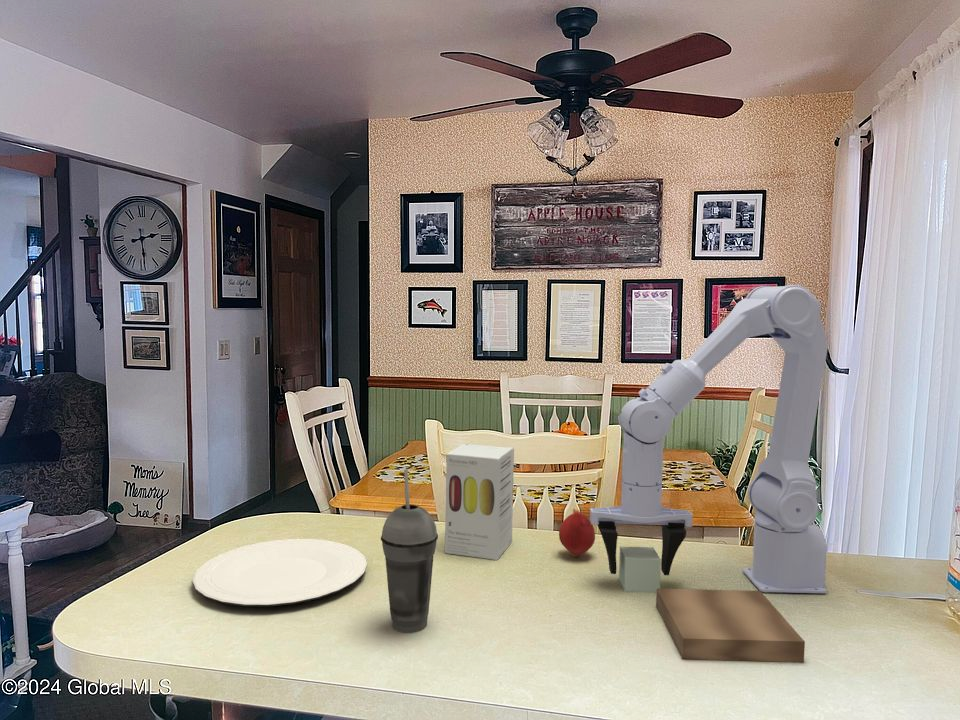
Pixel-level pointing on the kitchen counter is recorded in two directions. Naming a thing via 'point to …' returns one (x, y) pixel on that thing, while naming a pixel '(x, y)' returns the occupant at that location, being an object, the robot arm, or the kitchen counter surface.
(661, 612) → the walnut base
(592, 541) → the onion
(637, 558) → the sage block
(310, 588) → the plate
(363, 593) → the kitchen counter surface
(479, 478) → the supplement box
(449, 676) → the kitchen counter surface
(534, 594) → the kitchen counter surface
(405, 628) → the beverage cup
